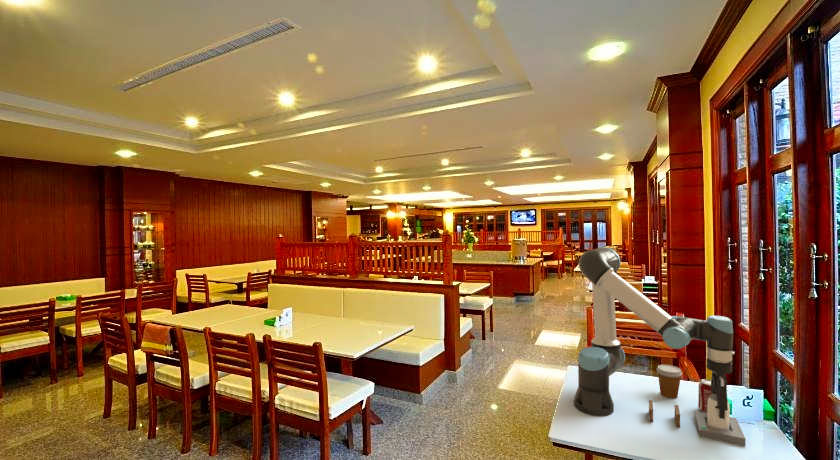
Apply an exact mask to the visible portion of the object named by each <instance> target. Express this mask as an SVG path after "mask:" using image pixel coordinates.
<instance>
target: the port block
mask: <svg viewBox="0 0 840 460" xmlns="http://www.w3.org/2000/svg"><path fill="white" fill-rule="evenodd" d="M693 412H694V414H693V417H694V421H695V425H696V429H697V432H698V436H699V437H700V438H705V439H711V440H716V441H721V442H726V443H730V444H735V445H739V444H740V446H744V447H745V446H746V437H745V434H744V433H743V430H742V427H741V426H740V424H739V421H738V419H737V418H736V417H732V416H731V417H730V416H729V430H724V429H719V428H714V427H709V426H707V413H705V412H702V411H700V410H699V411H698V410H694V411H693Z"/></svg>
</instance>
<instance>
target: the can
mask: <svg viewBox="0 0 840 460" xmlns="http://www.w3.org/2000/svg"><path fill="white" fill-rule="evenodd" d="M715 406H717V395H710V396H709V399H708V405H707V426H709V427H714V428H719V429H724V430H729V431H730V429H729V417H730V411H731V409H730V403H729V400H728V398H727V407H728V410H726V427H721V426H716V408H715Z"/></svg>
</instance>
